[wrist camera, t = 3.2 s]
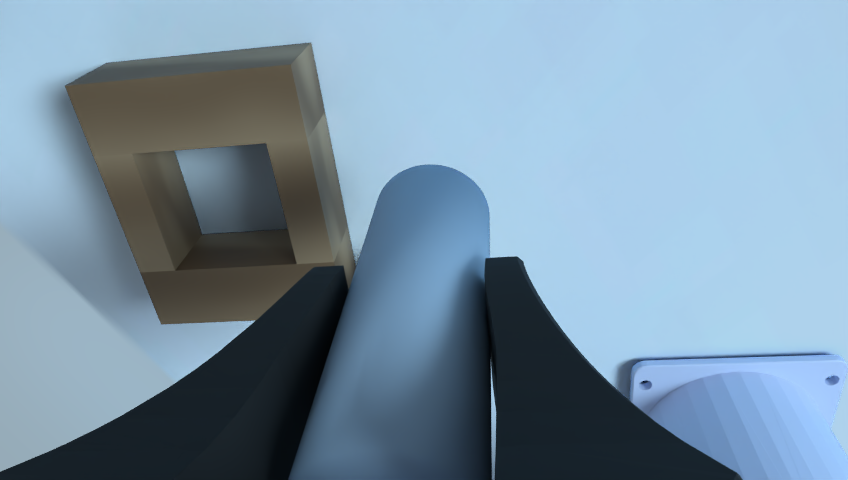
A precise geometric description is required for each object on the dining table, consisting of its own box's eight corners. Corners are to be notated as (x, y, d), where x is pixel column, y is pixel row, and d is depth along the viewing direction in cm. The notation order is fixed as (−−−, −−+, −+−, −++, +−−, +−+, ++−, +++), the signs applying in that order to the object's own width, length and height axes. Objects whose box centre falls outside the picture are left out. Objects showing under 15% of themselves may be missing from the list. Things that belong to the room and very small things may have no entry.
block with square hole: (357, 277, 25) (345, 316, 23) (188, 285, 26) (161, 324, 24) (311, 42, 20) (290, 64, 18) (107, 63, 21) (65, 85, 19)
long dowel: (492, 262, 16) (498, 588, 9) (384, 267, 17) (305, 586, 9) (485, 160, 15) (485, 449, 8) (367, 168, 15) (257, 452, 8)
